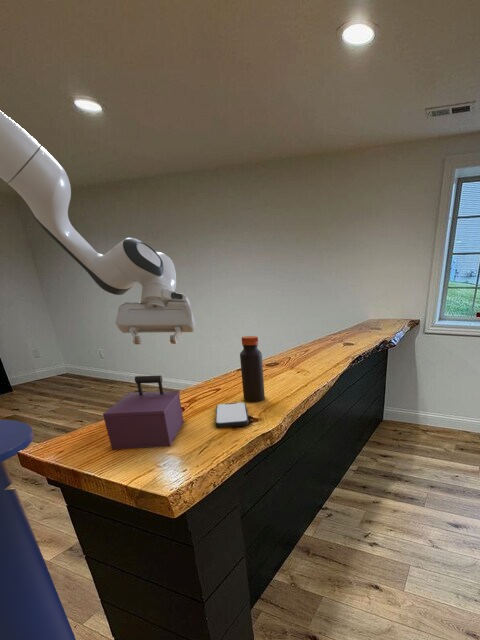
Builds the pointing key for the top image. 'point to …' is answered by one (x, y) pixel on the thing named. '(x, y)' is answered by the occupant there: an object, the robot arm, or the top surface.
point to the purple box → (145, 428)
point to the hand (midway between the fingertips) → (155, 342)
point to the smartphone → (231, 415)
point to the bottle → (252, 370)
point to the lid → (143, 400)
